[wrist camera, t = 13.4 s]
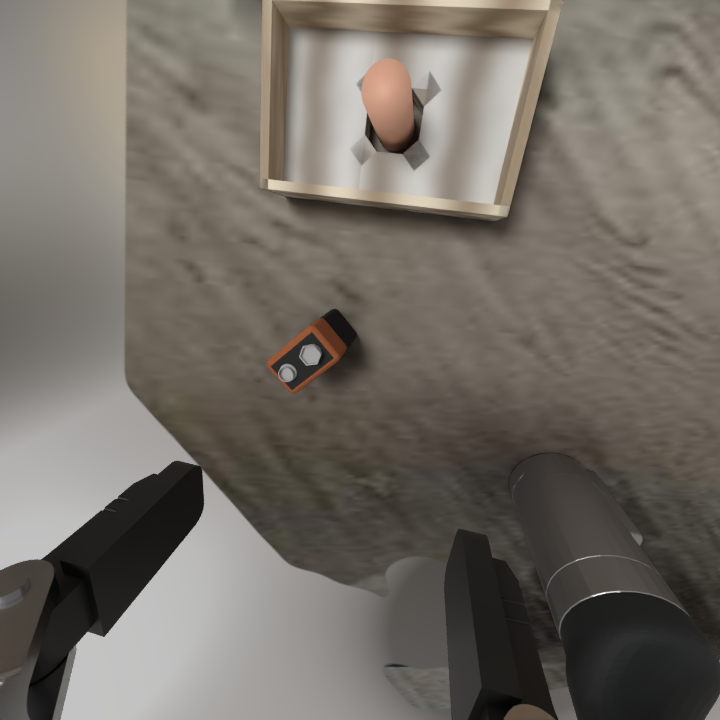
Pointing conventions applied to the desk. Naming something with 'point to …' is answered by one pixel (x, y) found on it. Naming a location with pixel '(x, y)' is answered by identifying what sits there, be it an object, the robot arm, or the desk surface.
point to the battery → (312, 351)
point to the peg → (389, 103)
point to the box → (429, 91)
